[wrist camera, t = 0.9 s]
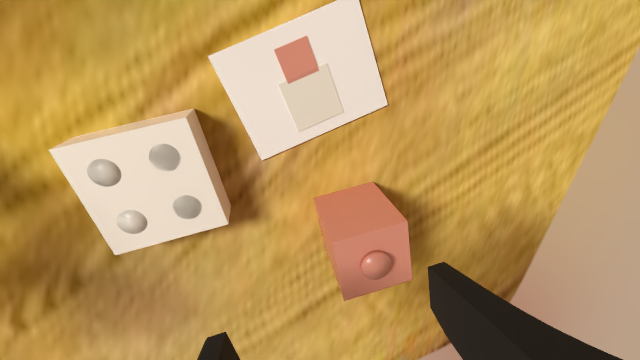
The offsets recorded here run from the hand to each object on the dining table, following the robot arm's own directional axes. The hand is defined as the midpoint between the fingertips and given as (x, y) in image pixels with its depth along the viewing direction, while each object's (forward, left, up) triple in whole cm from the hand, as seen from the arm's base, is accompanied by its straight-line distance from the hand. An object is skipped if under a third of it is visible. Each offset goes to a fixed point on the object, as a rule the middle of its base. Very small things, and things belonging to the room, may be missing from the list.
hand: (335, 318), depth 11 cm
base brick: (+4, +7, -10) cm, 13 cm away
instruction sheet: (+7, -2, -10) cm, 12 cm away
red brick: (-3, -3, -10) cm, 10 cm away
